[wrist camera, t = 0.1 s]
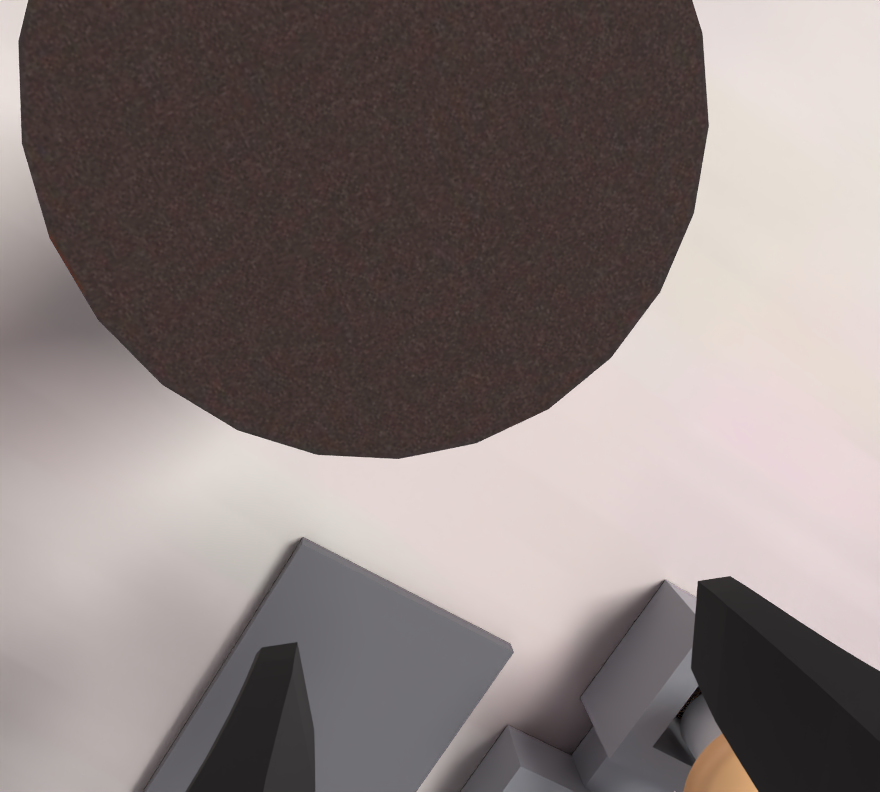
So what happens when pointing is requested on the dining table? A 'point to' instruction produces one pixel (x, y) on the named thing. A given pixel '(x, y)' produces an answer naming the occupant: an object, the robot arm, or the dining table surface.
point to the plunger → (711, 754)
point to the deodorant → (366, 199)
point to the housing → (616, 717)
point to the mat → (354, 676)
